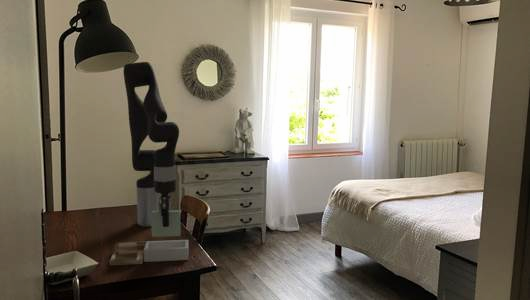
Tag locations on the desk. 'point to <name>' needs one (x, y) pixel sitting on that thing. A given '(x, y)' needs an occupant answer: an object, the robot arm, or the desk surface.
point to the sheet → (165, 231)
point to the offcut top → (128, 248)
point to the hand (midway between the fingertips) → (166, 225)
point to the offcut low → (125, 256)
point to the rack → (128, 262)
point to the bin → (166, 250)
